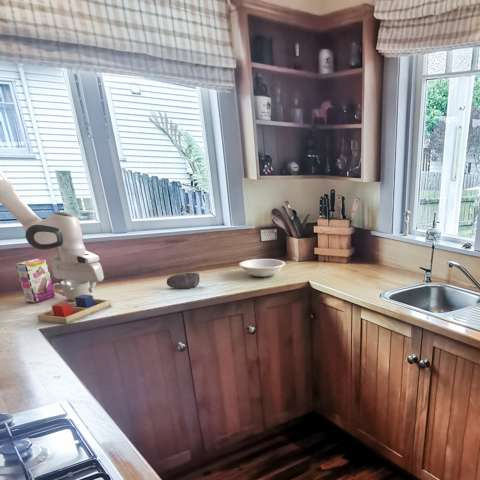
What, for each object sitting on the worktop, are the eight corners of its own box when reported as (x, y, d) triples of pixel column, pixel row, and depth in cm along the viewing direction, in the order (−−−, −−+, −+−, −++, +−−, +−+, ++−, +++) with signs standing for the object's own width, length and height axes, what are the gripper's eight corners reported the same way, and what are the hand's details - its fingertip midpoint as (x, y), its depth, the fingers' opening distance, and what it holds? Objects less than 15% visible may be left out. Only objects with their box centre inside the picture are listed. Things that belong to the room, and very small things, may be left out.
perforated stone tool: (167, 290, 219) (164, 275, 216) (168, 287, 224) (165, 272, 221) (200, 288, 224) (198, 274, 221) (200, 285, 228) (198, 271, 225)
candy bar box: (36, 303, 196) (25, 264, 188) (25, 302, 196) (14, 263, 189) (56, 296, 206) (46, 258, 199) (46, 295, 206) (35, 258, 199)
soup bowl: (270, 268, 265) (270, 257, 263) (294, 276, 250) (293, 264, 247) (232, 274, 251) (230, 262, 248) (254, 283, 235) (253, 270, 232)
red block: (54, 316, 178) (51, 305, 176) (63, 313, 182) (60, 302, 180) (64, 317, 177) (61, 306, 175) (73, 314, 181) (70, 303, 179)
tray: (38, 321, 176) (37, 315, 175) (85, 303, 197) (84, 298, 196) (66, 324, 174) (65, 317, 173) (111, 306, 195) (109, 300, 194)
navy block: (77, 308, 188) (74, 297, 186) (85, 305, 192) (82, 294, 190) (87, 309, 187) (84, 298, 186) (95, 305, 191) (92, 295, 190)
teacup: (95, 294, 209) (91, 277, 206) (90, 301, 200) (86, 283, 196) (60, 296, 205) (55, 278, 202) (53, 303, 196) (48, 285, 192)
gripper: (44, 255, 180) (53, 290, 186) (91, 259, 177) (98, 295, 183) (57, 252, 186) (65, 286, 191) (102, 256, 183) (109, 291, 188)
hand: (81, 290), depth 187 cm, fingers open, 8 cm apart
